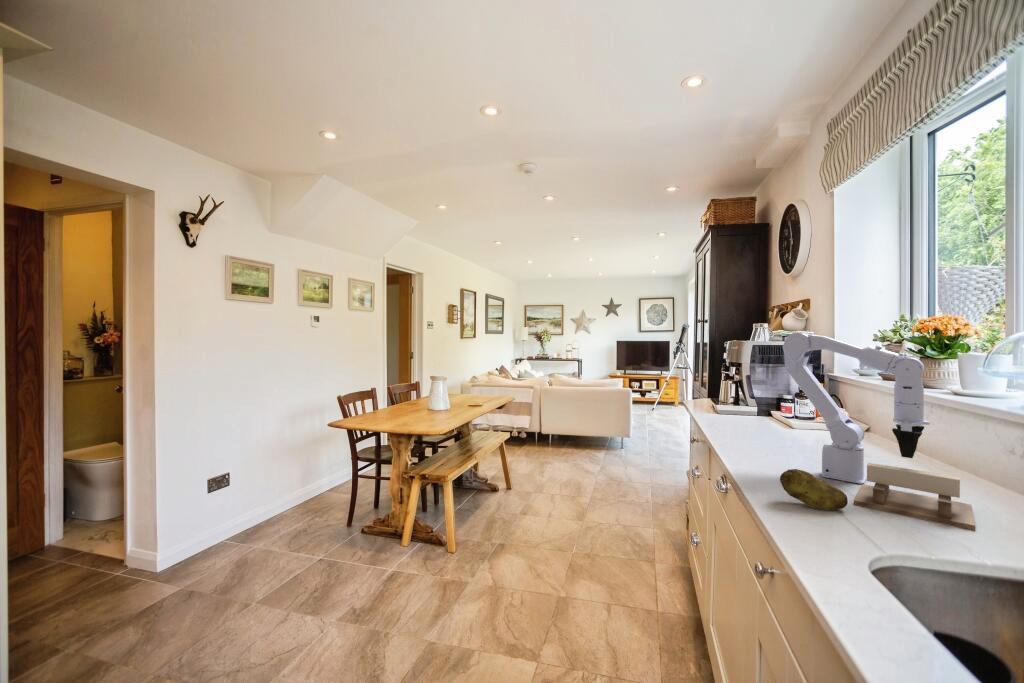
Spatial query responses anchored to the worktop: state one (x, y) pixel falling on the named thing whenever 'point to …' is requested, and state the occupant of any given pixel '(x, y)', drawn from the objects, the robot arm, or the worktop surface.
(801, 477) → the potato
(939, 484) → the clay bar
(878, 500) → the wooden board stand
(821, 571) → the worktop surface
